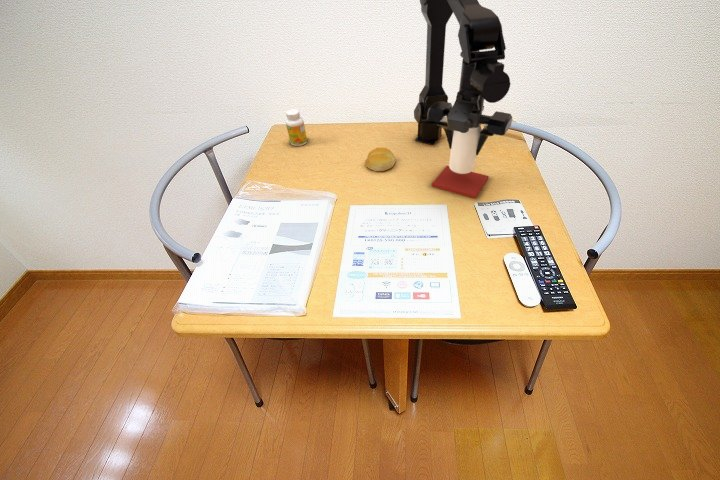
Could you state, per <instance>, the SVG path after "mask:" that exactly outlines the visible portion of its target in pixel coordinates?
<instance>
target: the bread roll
mask: <svg viewBox="0 0 720 480" xmlns="http://www.w3.org/2000/svg"><path fill="white" fill-rule="evenodd" d="M395 163H396V156H395V154H394V152H393V151H392V150H390V149H388V148H387V147H376V148H374V149H371V151H369V152H368V154H367V157H366V159H365V160H364V165H365V167H366V168H368V169H369V170H371V171H375V172H384V171H387V170H389V169H391V168H393V167H394V166H395Z"/></svg>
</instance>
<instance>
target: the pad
mask: <svg viewBox="0 0 720 480" xmlns="http://www.w3.org/2000/svg"><path fill="white" fill-rule="evenodd" d="M488 180H489V175H486V174H482V173H479V172H474V171H472V172H470V173H468V174H458V173H455V172H453V171H452V170H451V169H450V168H449V165H446V166H445V167H444V169H443V170H441V172H440V173H439V174H438V176H437V177H436V178H435V179H434V180H433V181H432V183H431V187H432V188H435V189H439V190H443V191H446V192H451V193H454V194H457V195H460V196H464V197H468V198H472V199H476V198H477V196H478V195H479V194H480V192H481V191H482V189H483V188H484V186H485V184H487V182H488Z"/></svg>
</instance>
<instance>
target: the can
mask: <svg viewBox="0 0 720 480" xmlns="http://www.w3.org/2000/svg"><path fill="white" fill-rule="evenodd" d="M482 129H483V128H482V124H479V126H478V127H477V128H476V127H472V128H469V131H468V132H466V133H461V132H459V131H454V133H453V140H452V147H451V149H450V154H449V162H448V166H449V168H450V169H451V170H452V171H453V172H455V173H458V174H468V173H470V172H474V170H475V166H476V162H477V157H478V155H476V150H477V146H478V142H479V139H480V132H481V131H482Z"/></svg>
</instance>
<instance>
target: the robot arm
mask: <svg viewBox="0 0 720 480" xmlns="http://www.w3.org/2000/svg"><path fill="white" fill-rule="evenodd" d="M419 5H420V11H421V14H422V16H423V18H424V20H425V22H426V51H425V52H426V53H425V54H426V55H425V78H424V79H425V83H424V86H423V87H422V89H421V91H420V92H419V96H418V103H417V104H416V106H415V108H414V110H413V119H414V120H415V122H416V123H417V136H416V137H415V139H414V141H416V142H419V143H423V144H427V145H435V144H436V143H437V142H438V141H439V140H440V139H441V138H442V137H443V133H442V131H443V132H444V133H445V136H446V140H447V143H448V147H449V149H450V150H451V147H452V140H453V133H454V131H459V132H461V133H466V132H468V131H469V128H472V127H476V128H477V127H478V126H479V124H481V125H483V128H481V129H482V131H481V132H480V139H479V142H478V146H477V150H476V155H477V156H478V155H479V154H480V153H481V150H482V149H483V147H484V145H485V143H486V142H487V140H488V138H489V137H494V135H496V136H505V135H506V133H507V132H508V130H510V127H511V126H512V124H513V115H512V114H511V113H508V112H504V111H503V112H502V111H497V110H496V111H495V112H494V113H493V114H492V115H488V114H483V111H485V104H484V103H485V101H486V102H487V103H491V104H494V103H495V104H496V103H498V102H500V101H502V100H503V99H504V98H505V97H506V95H507V94H508V92H509V90H510V88H511V84H512V83H511V79H510V76H509V74H508V73H507V72H505V64H504V63H503V62H499V61H500V60H505V58H506V53H505V51H506V50H507V47H506V43H505V38H504V32H503V25H502V23H501V20H500V18H499V16H498V15H497V14H496V13H495V12H494V11H493V10H492V9H490V8H487V7H486V6H482V4H480V2H479V0H419ZM452 15H454V17H455V18H456V20H457V23H458V26H459V28H458V32H457V37H458V43H459V46H460V49H461V52H460V53H459V55H460V57H461V58H462V61H461V69H460V70H461V72H460V79H459V88H458V91H457V93H456V97H455V100H454V103H453V104H452V102H448V101H449V95H448V94H447V93H446V91H445V89H444V88H443V79H444V64H445V49H446V48H445V47H446V34H447V33H446V32H447V24H448V22H449V21H450V20H451V17H452Z"/></svg>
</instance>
